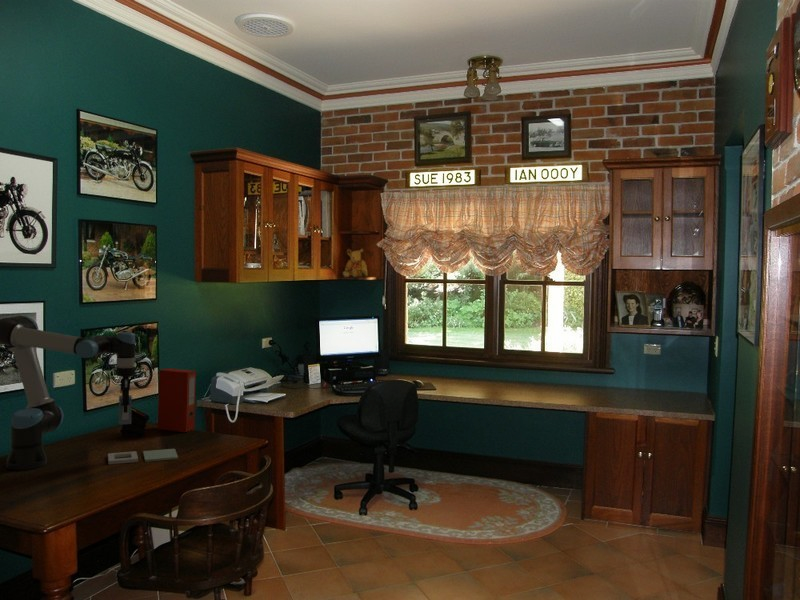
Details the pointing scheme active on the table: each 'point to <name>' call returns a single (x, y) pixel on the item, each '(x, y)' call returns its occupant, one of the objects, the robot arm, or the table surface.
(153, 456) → the pad
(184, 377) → the file binder
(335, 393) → the table surface
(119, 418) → the slate block
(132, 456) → the pocket collar
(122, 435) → the black slab
